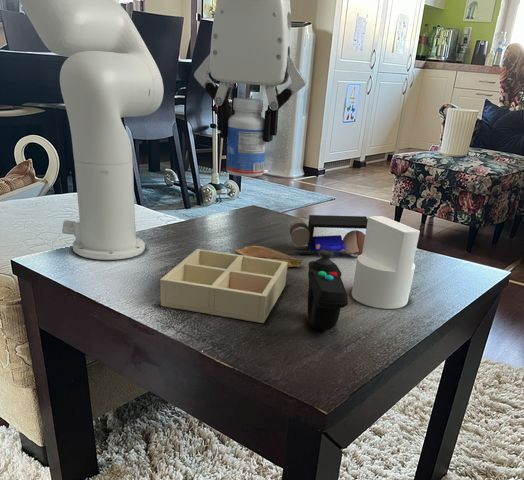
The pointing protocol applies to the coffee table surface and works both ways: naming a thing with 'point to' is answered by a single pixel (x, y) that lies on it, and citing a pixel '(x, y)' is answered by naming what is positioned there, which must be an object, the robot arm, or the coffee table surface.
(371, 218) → the cylinder with rectangular tab
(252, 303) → the open box
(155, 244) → the coffee table surface
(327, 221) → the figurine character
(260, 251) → the shard
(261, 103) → the pill bottle
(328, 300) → the controller
